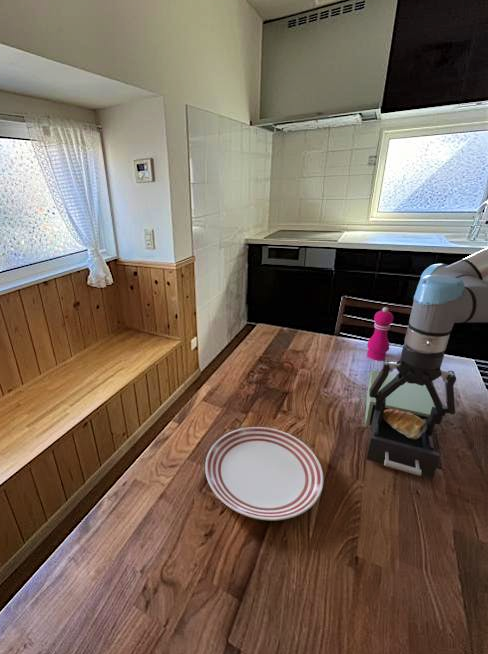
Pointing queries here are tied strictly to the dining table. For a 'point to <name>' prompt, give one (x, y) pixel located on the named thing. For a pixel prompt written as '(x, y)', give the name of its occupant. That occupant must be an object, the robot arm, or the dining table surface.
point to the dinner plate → (264, 473)
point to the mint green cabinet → (400, 398)
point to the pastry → (405, 423)
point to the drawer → (402, 449)
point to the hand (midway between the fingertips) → (403, 426)
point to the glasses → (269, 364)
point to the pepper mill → (380, 335)
